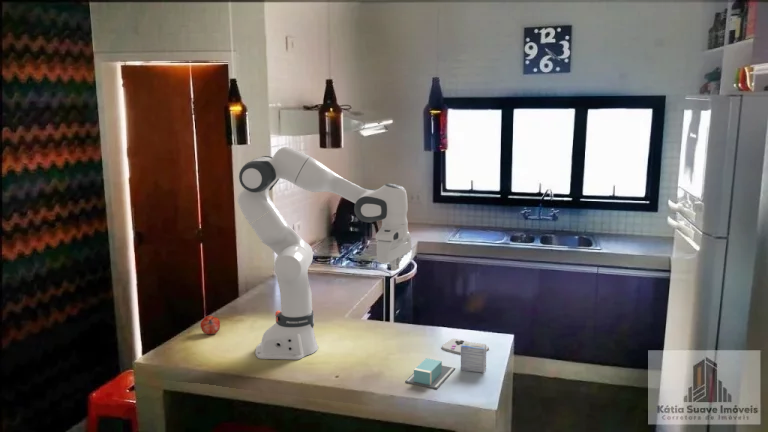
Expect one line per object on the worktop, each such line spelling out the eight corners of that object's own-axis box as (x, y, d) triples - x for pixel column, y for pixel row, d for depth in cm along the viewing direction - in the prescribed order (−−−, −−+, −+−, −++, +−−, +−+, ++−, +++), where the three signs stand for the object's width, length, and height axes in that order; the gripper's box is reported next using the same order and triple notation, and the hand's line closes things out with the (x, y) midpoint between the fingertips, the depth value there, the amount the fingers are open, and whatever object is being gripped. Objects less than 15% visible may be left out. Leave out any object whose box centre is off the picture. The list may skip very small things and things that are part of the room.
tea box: (441, 372, 201) (429, 385, 192) (426, 369, 203) (413, 381, 194) (441, 361, 200) (429, 372, 191) (426, 358, 202) (413, 369, 194)
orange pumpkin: (200, 337, 241) (197, 330, 233) (203, 319, 245) (200, 311, 236) (220, 338, 242) (216, 331, 233) (222, 320, 246) (219, 312, 237)
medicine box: (486, 368, 204) (486, 343, 203) (484, 373, 200) (484, 348, 199) (463, 365, 207) (463, 341, 205) (460, 370, 203) (460, 346, 201)
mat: (437, 389, 190) (437, 387, 190) (405, 382, 195) (405, 381, 195) (455, 369, 204) (455, 367, 204) (425, 363, 209) (425, 362, 209)
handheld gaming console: (453, 337, 229) (489, 346, 220) (453, 341, 229) (489, 350, 220) (439, 346, 221) (476, 355, 212) (439, 350, 221) (476, 359, 212)
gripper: (399, 224, 220) (399, 261, 223) (373, 235, 202) (373, 275, 205) (415, 226, 217) (415, 263, 220) (390, 237, 199) (390, 278, 202)
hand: (395, 269), depth 212 cm, fingers closed
